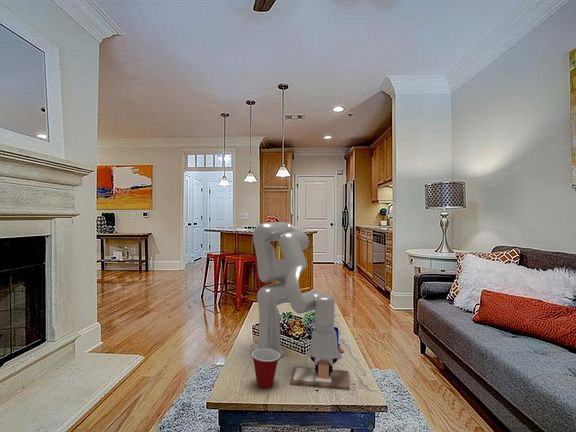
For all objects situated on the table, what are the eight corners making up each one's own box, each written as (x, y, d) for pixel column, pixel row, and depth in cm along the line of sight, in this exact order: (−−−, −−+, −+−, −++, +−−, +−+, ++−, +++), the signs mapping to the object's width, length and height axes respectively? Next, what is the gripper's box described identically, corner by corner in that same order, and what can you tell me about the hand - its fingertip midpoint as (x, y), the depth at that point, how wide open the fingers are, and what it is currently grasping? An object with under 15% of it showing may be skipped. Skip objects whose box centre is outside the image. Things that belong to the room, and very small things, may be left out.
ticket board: (290, 384, 130) (290, 380, 130) (294, 368, 143) (294, 365, 143) (349, 390, 127) (349, 385, 127) (348, 373, 140) (348, 369, 140)
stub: (315, 382, 130) (315, 367, 130) (316, 369, 140) (317, 356, 140) (331, 383, 130) (331, 368, 129) (331, 371, 139) (332, 357, 139)
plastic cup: (282, 391, 126) (282, 358, 126) (252, 393, 124) (252, 360, 124) (277, 376, 137) (278, 346, 136) (250, 378, 135) (250, 348, 134)
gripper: (301, 329, 132) (301, 376, 132) (346, 332, 129) (345, 380, 130) (303, 322, 139) (303, 367, 140) (346, 325, 137) (345, 371, 137)
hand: (323, 373), depth 135 cm, fingers closed on stub, 4 cm apart
